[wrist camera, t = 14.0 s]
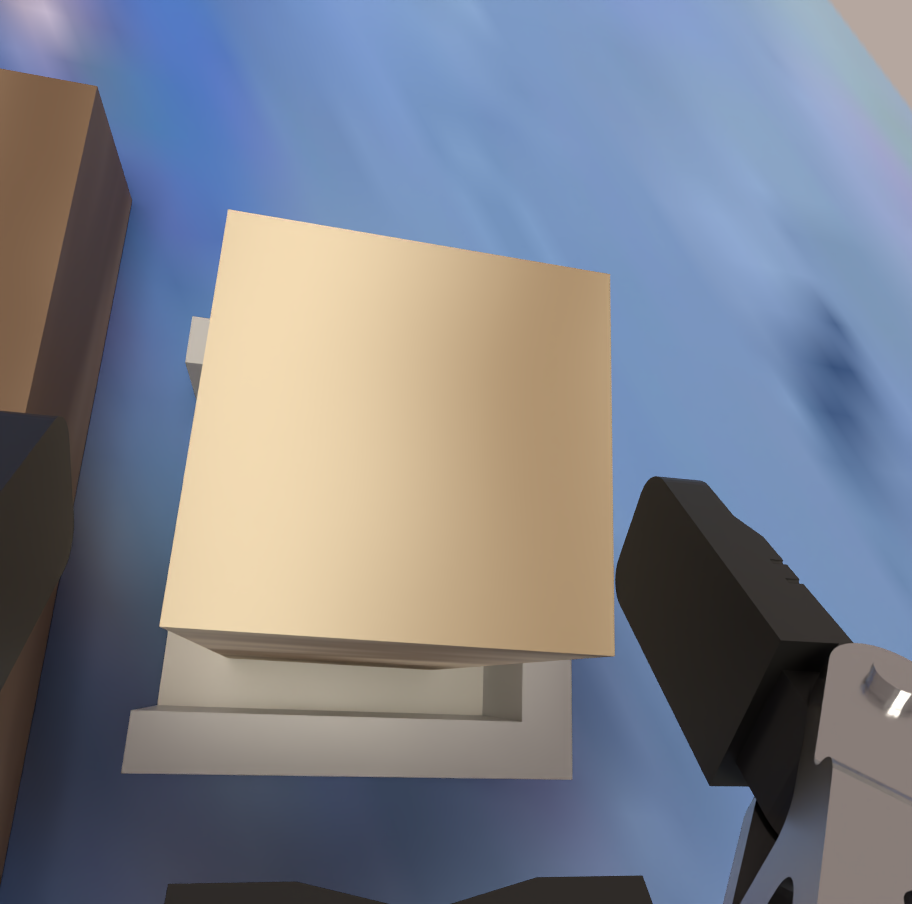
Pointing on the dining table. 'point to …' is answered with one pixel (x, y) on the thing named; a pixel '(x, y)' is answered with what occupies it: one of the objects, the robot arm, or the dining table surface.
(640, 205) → the dining table surface
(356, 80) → the dining table surface
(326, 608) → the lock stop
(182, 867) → the dining table surface
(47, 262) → the rail
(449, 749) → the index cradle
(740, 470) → the dining table surface
